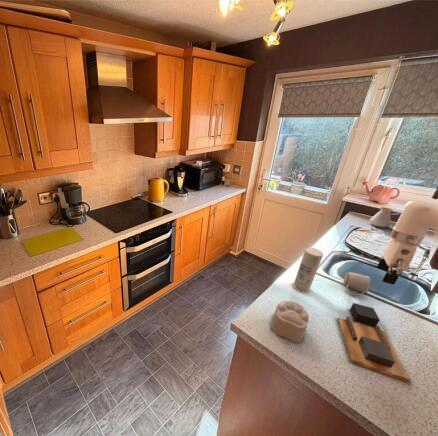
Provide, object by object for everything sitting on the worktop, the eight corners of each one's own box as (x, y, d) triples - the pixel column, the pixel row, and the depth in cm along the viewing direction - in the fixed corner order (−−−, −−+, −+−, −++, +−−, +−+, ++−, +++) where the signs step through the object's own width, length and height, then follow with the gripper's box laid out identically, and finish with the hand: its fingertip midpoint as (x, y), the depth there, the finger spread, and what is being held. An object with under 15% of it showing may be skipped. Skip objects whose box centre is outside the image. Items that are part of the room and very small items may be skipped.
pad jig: (383, 333, 86) (388, 325, 84) (408, 381, 70) (415, 373, 68) (337, 319, 91) (341, 311, 89) (351, 362, 76) (355, 353, 74)
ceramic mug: (341, 280, 112) (347, 267, 109) (363, 287, 108) (370, 274, 105) (342, 292, 105) (348, 279, 101) (366, 300, 100) (373, 287, 97)
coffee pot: (367, 225, 168) (375, 206, 161) (369, 220, 175) (377, 202, 169) (409, 235, 154) (420, 215, 147) (409, 230, 161) (420, 210, 154)
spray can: (312, 289, 107) (326, 253, 98) (304, 294, 104) (318, 257, 95) (297, 281, 112) (309, 246, 103) (290, 286, 109) (302, 250, 100)
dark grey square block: (369, 315, 93) (373, 308, 91) (375, 327, 88) (380, 320, 86) (349, 310, 96) (353, 302, 94) (354, 321, 90) (358, 314, 89)
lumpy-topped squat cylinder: (269, 330, 86) (274, 313, 83) (275, 308, 96) (280, 292, 92) (301, 345, 81) (309, 328, 77) (304, 320, 91) (311, 304, 87)
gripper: (431, 250, 72) (405, 293, 79) (413, 229, 85) (392, 267, 92) (398, 243, 75) (376, 284, 83) (386, 224, 88) (368, 261, 96)
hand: (384, 275), depth 87 cm, fingers open, 9 cm apart
